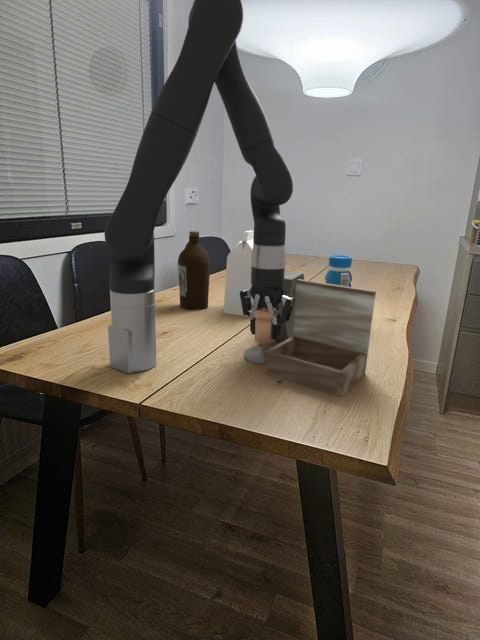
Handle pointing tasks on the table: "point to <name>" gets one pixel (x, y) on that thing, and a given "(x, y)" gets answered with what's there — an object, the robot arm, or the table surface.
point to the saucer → (255, 354)
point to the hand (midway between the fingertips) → (264, 335)
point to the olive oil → (194, 275)
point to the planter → (290, 292)
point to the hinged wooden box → (325, 338)
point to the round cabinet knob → (263, 326)
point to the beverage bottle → (339, 270)
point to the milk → (238, 274)
